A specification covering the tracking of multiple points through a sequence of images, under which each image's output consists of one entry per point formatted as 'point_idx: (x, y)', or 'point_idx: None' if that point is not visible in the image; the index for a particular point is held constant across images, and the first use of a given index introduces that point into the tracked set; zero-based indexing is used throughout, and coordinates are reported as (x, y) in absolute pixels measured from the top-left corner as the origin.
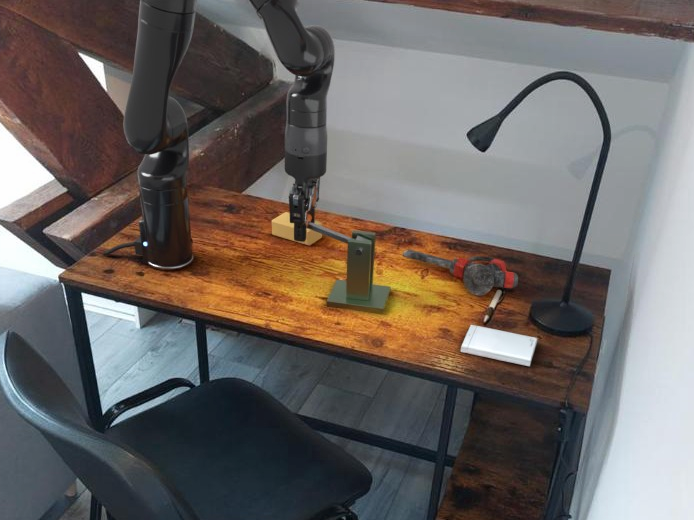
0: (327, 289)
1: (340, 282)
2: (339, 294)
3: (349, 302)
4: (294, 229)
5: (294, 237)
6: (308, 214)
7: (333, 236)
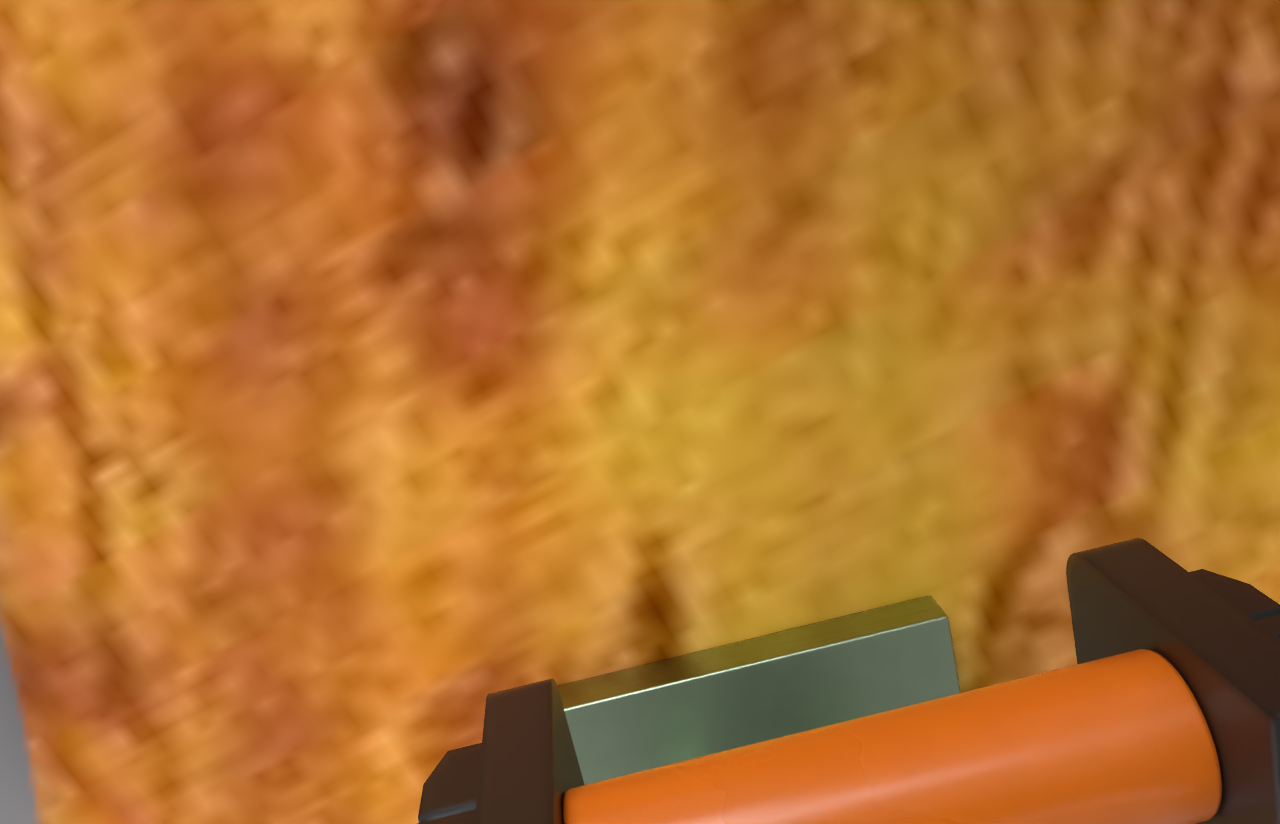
0: (817, 563)
1: (907, 666)
2: (701, 753)
3: None
4: (475, 817)
5: (484, 721)
6: (1184, 805)
7: None
